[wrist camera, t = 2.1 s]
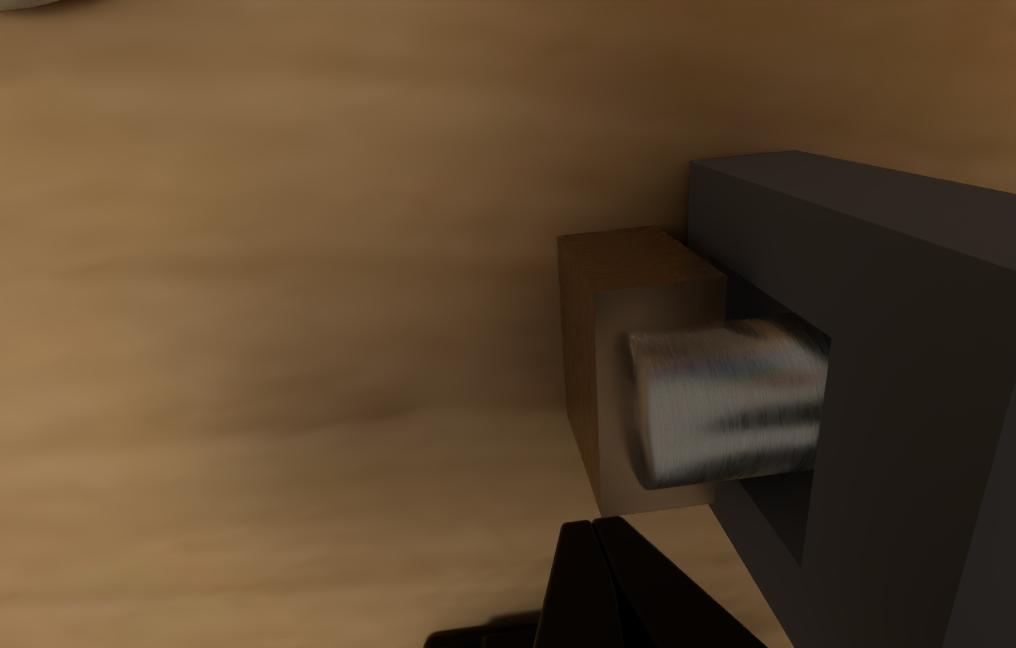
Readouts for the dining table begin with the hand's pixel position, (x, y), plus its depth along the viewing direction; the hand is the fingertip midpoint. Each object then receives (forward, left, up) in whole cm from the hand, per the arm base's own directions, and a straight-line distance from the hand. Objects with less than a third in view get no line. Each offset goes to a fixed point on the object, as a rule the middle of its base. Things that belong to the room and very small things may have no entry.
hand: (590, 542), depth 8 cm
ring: (0, -5, -7) cm, 9 cm away
